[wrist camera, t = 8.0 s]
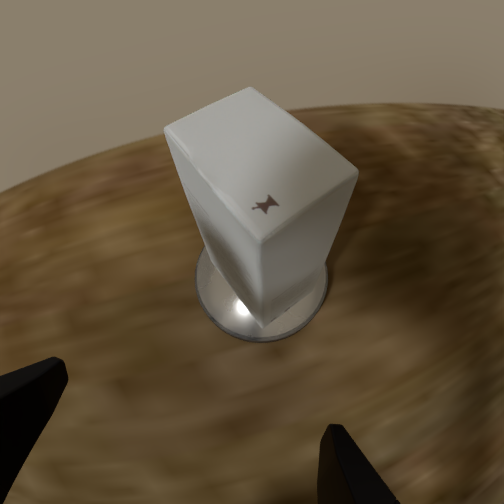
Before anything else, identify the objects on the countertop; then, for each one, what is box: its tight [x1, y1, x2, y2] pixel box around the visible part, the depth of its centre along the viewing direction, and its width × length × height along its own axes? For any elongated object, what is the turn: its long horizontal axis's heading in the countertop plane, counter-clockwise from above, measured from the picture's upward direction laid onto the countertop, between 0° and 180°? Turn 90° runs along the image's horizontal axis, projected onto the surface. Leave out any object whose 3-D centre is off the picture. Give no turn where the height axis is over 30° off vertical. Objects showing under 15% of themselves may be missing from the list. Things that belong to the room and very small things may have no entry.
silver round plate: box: [195, 246, 328, 343], centre depth 21 cm, size 9×9×1 cm
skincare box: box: [164, 87, 359, 328], centre depth 15 cm, size 6×4×12 cm
